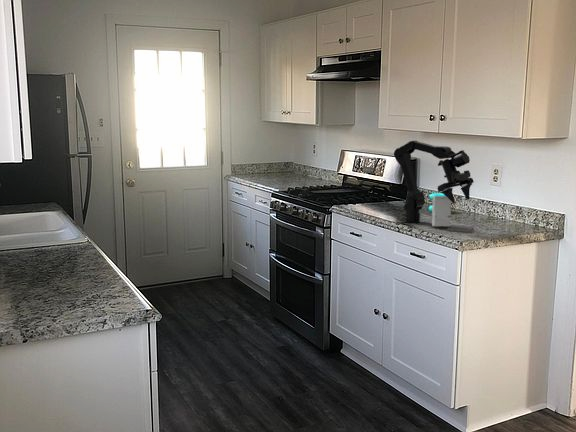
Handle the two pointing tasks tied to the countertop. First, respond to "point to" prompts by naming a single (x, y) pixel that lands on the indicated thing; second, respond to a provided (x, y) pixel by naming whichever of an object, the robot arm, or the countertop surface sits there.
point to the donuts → (433, 196)
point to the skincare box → (441, 211)
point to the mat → (460, 228)
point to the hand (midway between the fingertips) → (461, 201)
